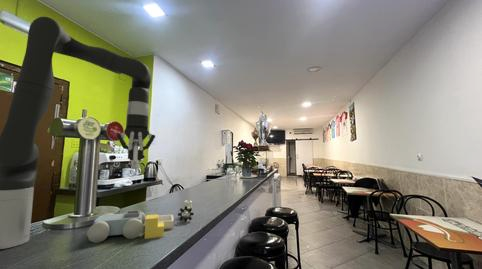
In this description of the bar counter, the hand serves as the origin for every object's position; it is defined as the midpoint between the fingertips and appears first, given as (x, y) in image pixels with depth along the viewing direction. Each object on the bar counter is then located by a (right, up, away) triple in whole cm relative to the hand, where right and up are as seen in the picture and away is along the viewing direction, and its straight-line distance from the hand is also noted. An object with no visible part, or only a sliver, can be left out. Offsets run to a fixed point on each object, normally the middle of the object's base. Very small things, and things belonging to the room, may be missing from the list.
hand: (135, 160), depth 81 cm
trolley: (-4, -26, -4) cm, 26 cm away
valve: (+15, -28, +16) cm, 36 cm away
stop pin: (0, -3, 0) cm, 3 cm away
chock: (+9, -26, -5) cm, 28 cm away
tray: (+8, -27, +5) cm, 28 cm away
